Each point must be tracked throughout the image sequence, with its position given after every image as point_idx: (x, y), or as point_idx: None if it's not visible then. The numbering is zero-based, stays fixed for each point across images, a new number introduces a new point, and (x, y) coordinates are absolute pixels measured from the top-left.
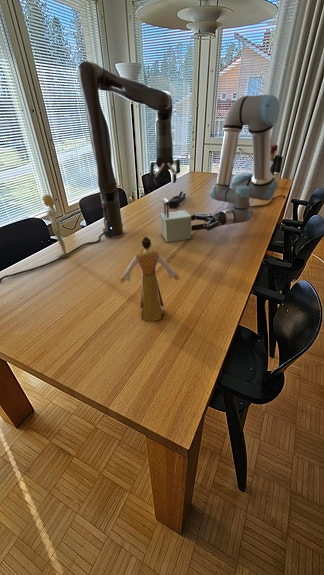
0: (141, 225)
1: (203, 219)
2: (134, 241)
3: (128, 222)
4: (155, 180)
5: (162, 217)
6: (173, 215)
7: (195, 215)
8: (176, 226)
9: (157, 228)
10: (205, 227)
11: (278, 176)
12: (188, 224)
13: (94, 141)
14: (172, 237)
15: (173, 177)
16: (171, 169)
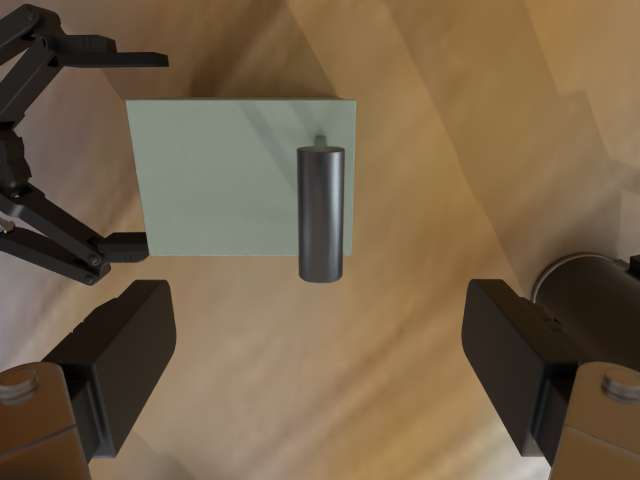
0: (408, 361)
1: (47, 204)
2: (509, 175)
3: (460, 416)
4: (555, 331)
5: (352, 185)
6: (264, 173)
7: (88, 247)
8: (266, 98)
9: (337, 298)
10: (57, 30)
11: None
12: (172, 98)
13: None
14: (302, 97)
15: (128, 352)
16: (65, 476)
